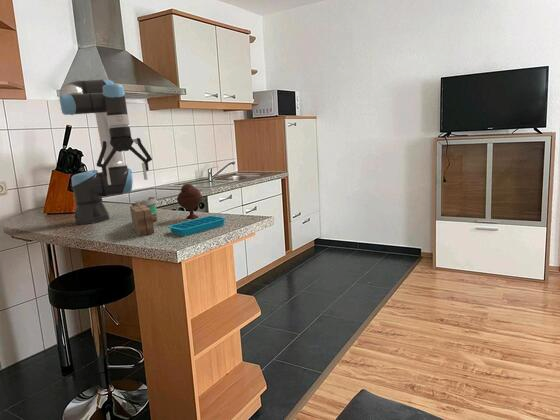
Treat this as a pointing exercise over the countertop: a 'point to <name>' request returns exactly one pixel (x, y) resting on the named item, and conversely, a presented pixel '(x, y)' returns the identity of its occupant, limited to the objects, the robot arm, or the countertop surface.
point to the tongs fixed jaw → (138, 219)
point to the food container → (150, 206)
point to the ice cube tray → (197, 225)
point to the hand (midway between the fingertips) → (128, 182)
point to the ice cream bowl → (189, 199)
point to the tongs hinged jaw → (147, 218)
